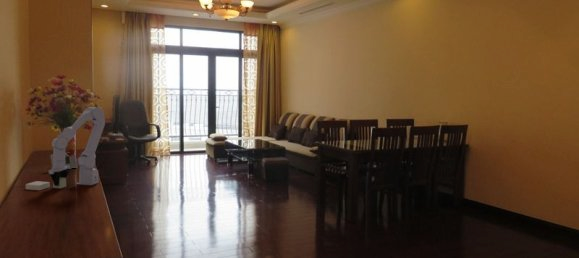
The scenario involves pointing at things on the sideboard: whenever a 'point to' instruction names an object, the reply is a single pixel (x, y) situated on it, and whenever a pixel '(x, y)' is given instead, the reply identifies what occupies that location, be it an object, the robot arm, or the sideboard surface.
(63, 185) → the green block
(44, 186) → the grey base
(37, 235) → the sideboard surface
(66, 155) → the digital clock
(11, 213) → the sideboard surface
